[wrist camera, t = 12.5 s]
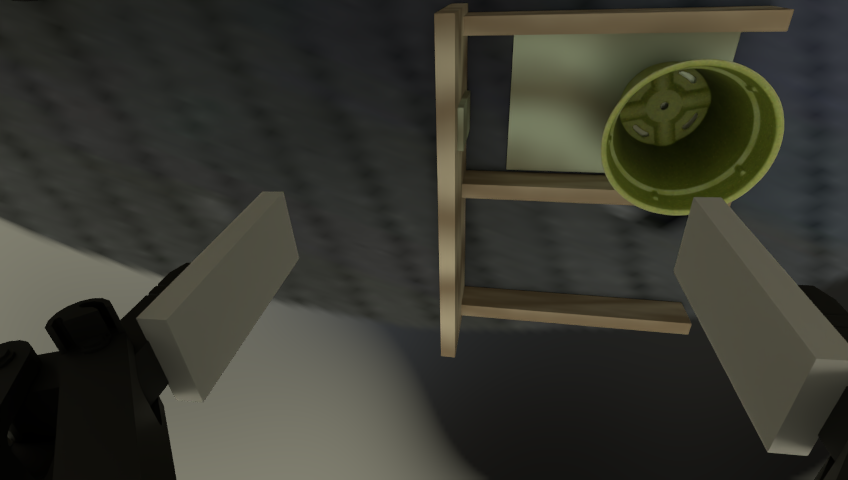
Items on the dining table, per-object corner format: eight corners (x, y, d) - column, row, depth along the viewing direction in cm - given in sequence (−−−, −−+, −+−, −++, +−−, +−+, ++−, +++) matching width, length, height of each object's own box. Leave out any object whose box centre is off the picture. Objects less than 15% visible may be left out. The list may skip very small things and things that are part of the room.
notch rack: (451, 3, 34) (434, 13, 27) (774, -5, 30) (847, 4, 24) (452, 299, 47) (441, 355, 41) (676, 317, 44) (705, 382, 37)
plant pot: (670, 186, 37) (696, 241, 30) (568, 127, 37) (569, 168, 30) (769, 80, 32) (828, 115, 25) (651, 9, 32) (677, 25, 24)
